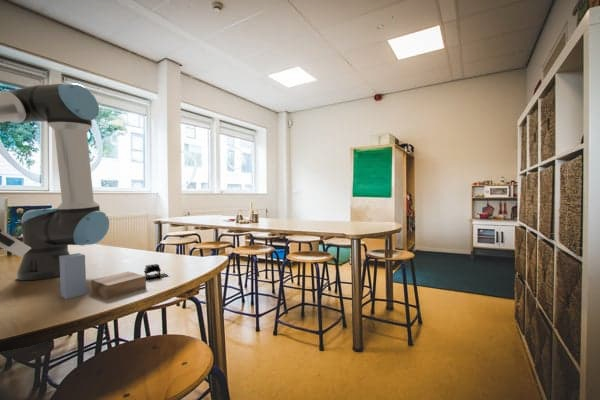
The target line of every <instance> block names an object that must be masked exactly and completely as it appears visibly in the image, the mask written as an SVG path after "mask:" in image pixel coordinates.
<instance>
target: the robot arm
mask: <svg viewBox="0 0 600 400" xmlns="http://www.w3.org/2000/svg"><path fill="white" fill-rule="evenodd" d="M99 107H100V106H99V103H98V100H97V99H96V97H95V96H94V94H92V92H91V91H90V89H88V88H87V87H85V86H84V85H81V84H79V83H74V82H73V83H67V82H63V83H62V82H61V83H54V84H39V85H38V84H37V85H32V86H31V85H30V86H27V87H22V88H16V89H12V90H1V91H0V124H1V123H6V122H10V123H13V124H19V123H26V122H27V123H29V122H31V123H32V122H45V123H47V125H48V126H49V127H50V128H52V129H53V131H54V138H55V139H54V140H55V147H56V148H55V149H56V159H57V168H58V176H59V185H60V187H59V188H60V196H61V203H60V204H59V205H58V206H57V207H51V208H41V209H33V210H27V211H25V212H24V213H23V215H22V219H21V220H22V222H21V226H22V227H21V228H22V241H21V240H19V239H17V238H15V237H14V236H12V235H10V234H9V233H7V232H5V231H4V230H2V229H1V228H0V248H1V249H4V250H5V251H7V252H10V253H11V254H13V255H15V256H17V257H19V258H20V259H21V262H20V264H19V267H18V268H17V269H18V270H17V274H16V276H17V277H16V278H17V280H19V281H36V280H38V281H39V280H45V279H51V278H56V277H60V260H59V256H64V255H70V252H69V246H83V247H84V246H88V245H89V246H90V245H95V244H98V243H99V242H101V241H103V239H104V238H105V236H106V235H107V234H108V231H109V230H110V229H109V228H110V220H109V216H108V215H107V214H106V213H105V212H104V211H101V208H100V204H99V203H98V202H96V201H95V200H94V190H93V179H92V169H91V159H90V149H89V139H88V132H89V131H90V130H91V129H92V128H93V123H92V121H93V120H95V119H96V118H97V117H98V116H99V113H100V108H99Z"/></svg>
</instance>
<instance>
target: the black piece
mask: <svg viewBox="0 0 600 400" xmlns="http://www.w3.org/2000/svg"><path fill="white" fill-rule="evenodd" d="M161 271H162V269H161V267H160V265H159V264H158V263H154V264H148V265H145V268H144V271H143V272H144V276H146V282H148V281H153V280H158V279H163V278H170V277H171V276H170V275H169V274H168V273H167V274H168V275H169V276H168V275H167V274H165V273H166V272H162V273H161ZM152 272H153V274H150V273H152ZM154 272H155V273H154Z"/></svg>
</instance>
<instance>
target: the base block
mask: <svg viewBox="0 0 600 400" xmlns="http://www.w3.org/2000/svg"><path fill="white" fill-rule="evenodd" d="M90 282H91V294H94V295H96V296H99V297H101V298H103V299H106V300H111V299H115V298H119V297H122V296H125V295H129V294H131V293H135V292H138V291H142V290H147V281H146V276H145V274H139V273H135V272H132V271H125V272H121V273H116V274H112V275H108V276H103V277H99V278H98V277H97V278H95V279H91V281H90Z"/></svg>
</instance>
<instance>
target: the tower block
mask: <svg viewBox="0 0 600 400" xmlns="http://www.w3.org/2000/svg"><path fill="white" fill-rule="evenodd" d="M69 254H70V253H69ZM59 260H60V276H59V283H60V285H59V286H60V297H62V298H64V299H66V300H67V299H71V298H76V297H79V296H83V295H87V279H86V278H87V275H86V273H87V272H86V254H83V253H80V252H79V253H72V254H70V255H64V256H59Z"/></svg>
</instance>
